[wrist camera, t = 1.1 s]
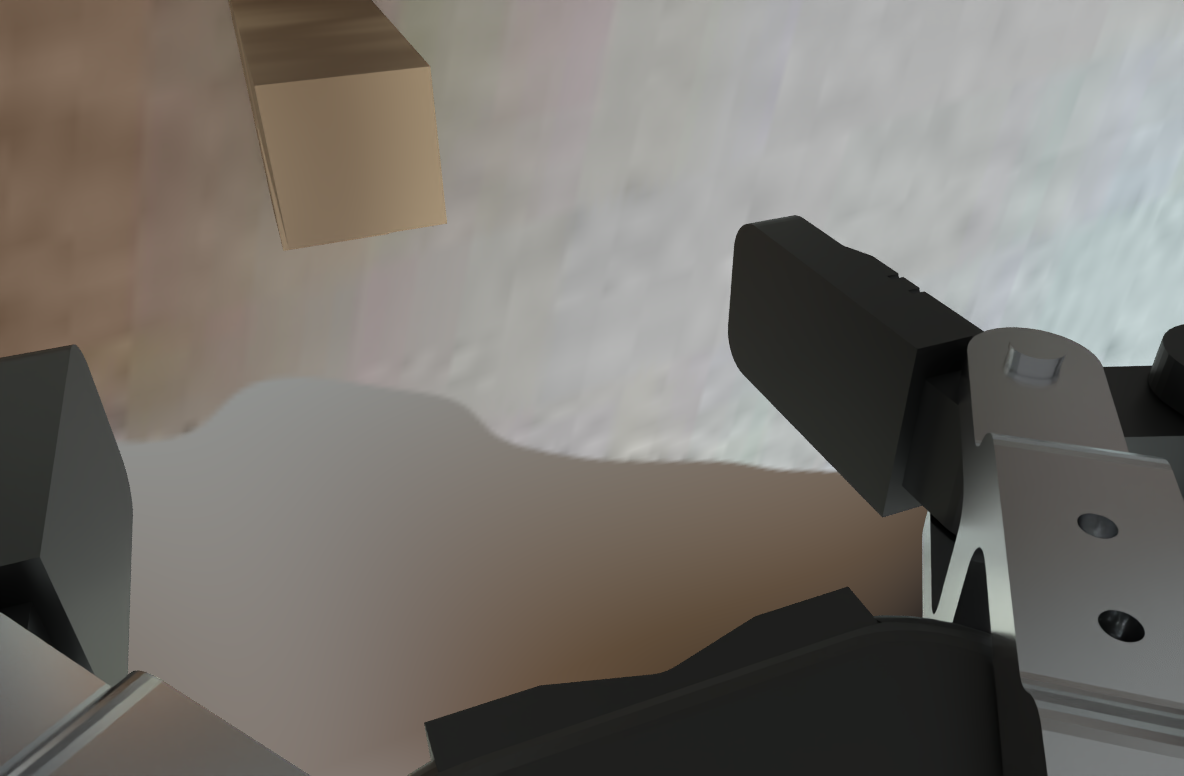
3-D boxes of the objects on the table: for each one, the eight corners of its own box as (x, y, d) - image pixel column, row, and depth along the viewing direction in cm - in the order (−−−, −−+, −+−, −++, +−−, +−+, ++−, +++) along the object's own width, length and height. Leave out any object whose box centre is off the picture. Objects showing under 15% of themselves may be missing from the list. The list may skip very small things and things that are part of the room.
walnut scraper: (308, -213, 24) (401, -201, 14) (371, 197, 30) (464, 393, 21) (182, -210, 23) (195, -194, 14) (273, 211, 29) (325, 423, 20)
